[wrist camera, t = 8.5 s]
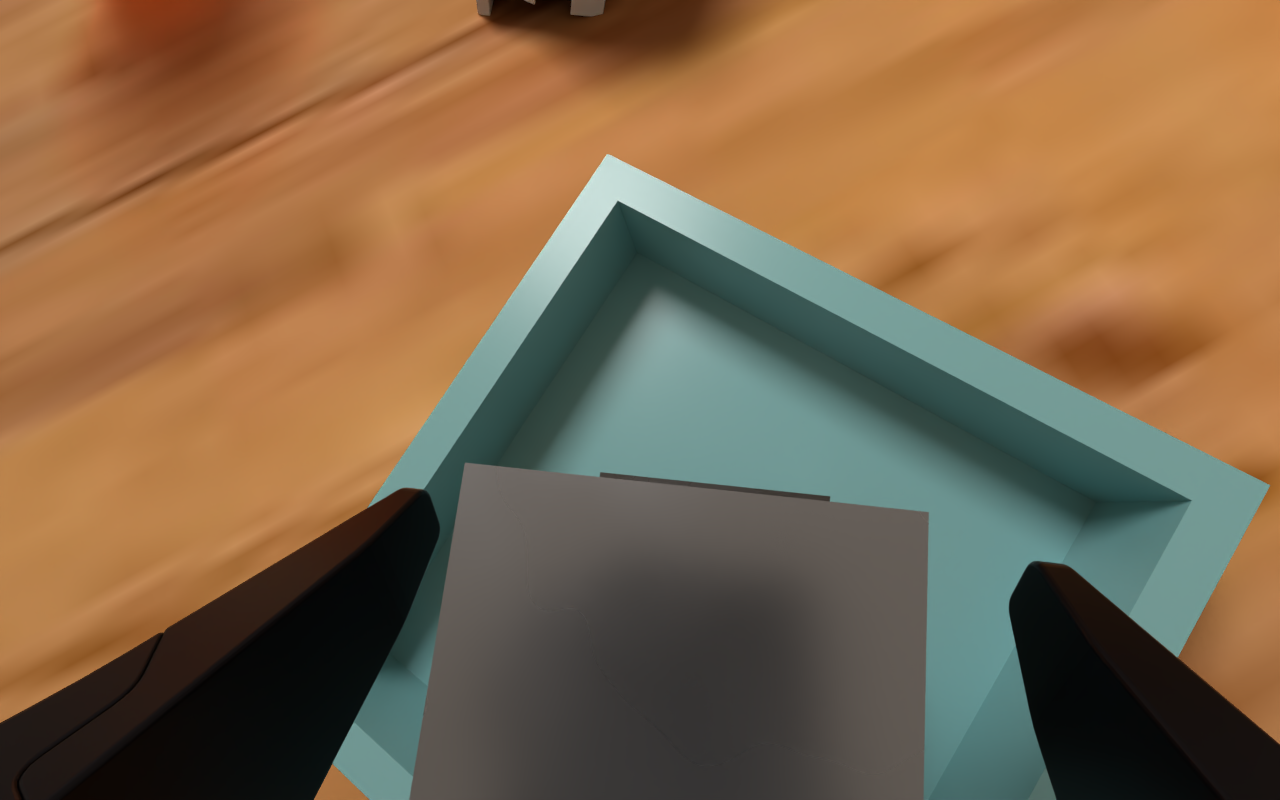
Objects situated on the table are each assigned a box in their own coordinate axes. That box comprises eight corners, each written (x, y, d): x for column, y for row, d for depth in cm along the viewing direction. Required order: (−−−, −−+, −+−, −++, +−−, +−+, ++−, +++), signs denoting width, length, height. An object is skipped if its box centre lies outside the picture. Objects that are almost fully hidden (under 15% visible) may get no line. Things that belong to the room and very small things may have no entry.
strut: (791, 680, 14) (964, 1184, 4) (617, 651, 15) (341, 994, 4) (802, 499, 15) (970, 479, 4) (636, 482, 16) (441, 427, 5)
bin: (817, 1047, 14) (851, 1264, 10) (356, 643, 17) (248, 682, 13) (1128, 491, 15) (1269, 485, 11) (633, 227, 19) (607, 153, 15)
